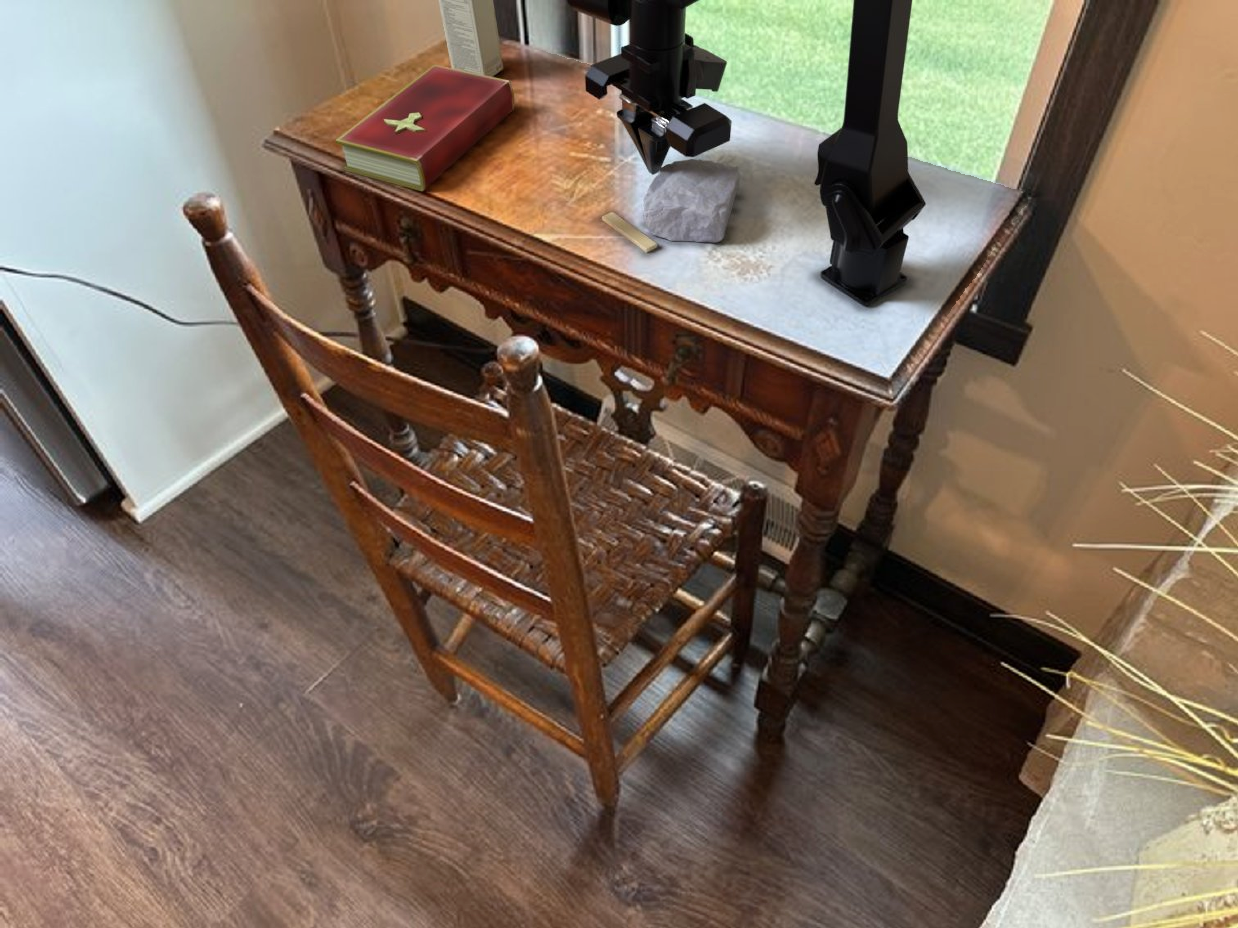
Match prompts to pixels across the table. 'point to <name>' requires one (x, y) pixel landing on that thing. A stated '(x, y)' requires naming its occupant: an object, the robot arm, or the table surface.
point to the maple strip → (629, 232)
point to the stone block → (691, 200)
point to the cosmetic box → (472, 35)
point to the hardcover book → (426, 126)
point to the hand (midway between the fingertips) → (654, 172)
